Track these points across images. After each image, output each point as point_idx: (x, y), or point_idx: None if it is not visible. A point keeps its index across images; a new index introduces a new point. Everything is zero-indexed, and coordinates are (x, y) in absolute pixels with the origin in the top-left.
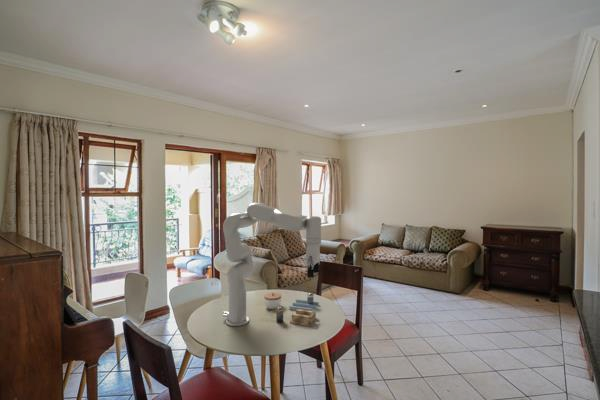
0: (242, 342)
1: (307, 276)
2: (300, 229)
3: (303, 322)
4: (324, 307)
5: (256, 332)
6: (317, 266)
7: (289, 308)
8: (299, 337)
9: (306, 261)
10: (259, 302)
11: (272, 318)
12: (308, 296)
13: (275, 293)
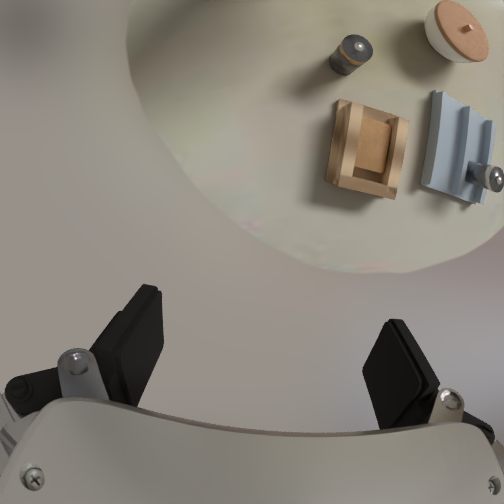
0: (164, 7)
1: (142, 286)
2: None
3: (337, 151)
4: (468, 219)
5: (236, 12)
6: (386, 413)
7: (437, 93)
8: (230, 153)
9: (27, 438)
10: None
11: None
12: (488, 170)
13: (482, 41)
